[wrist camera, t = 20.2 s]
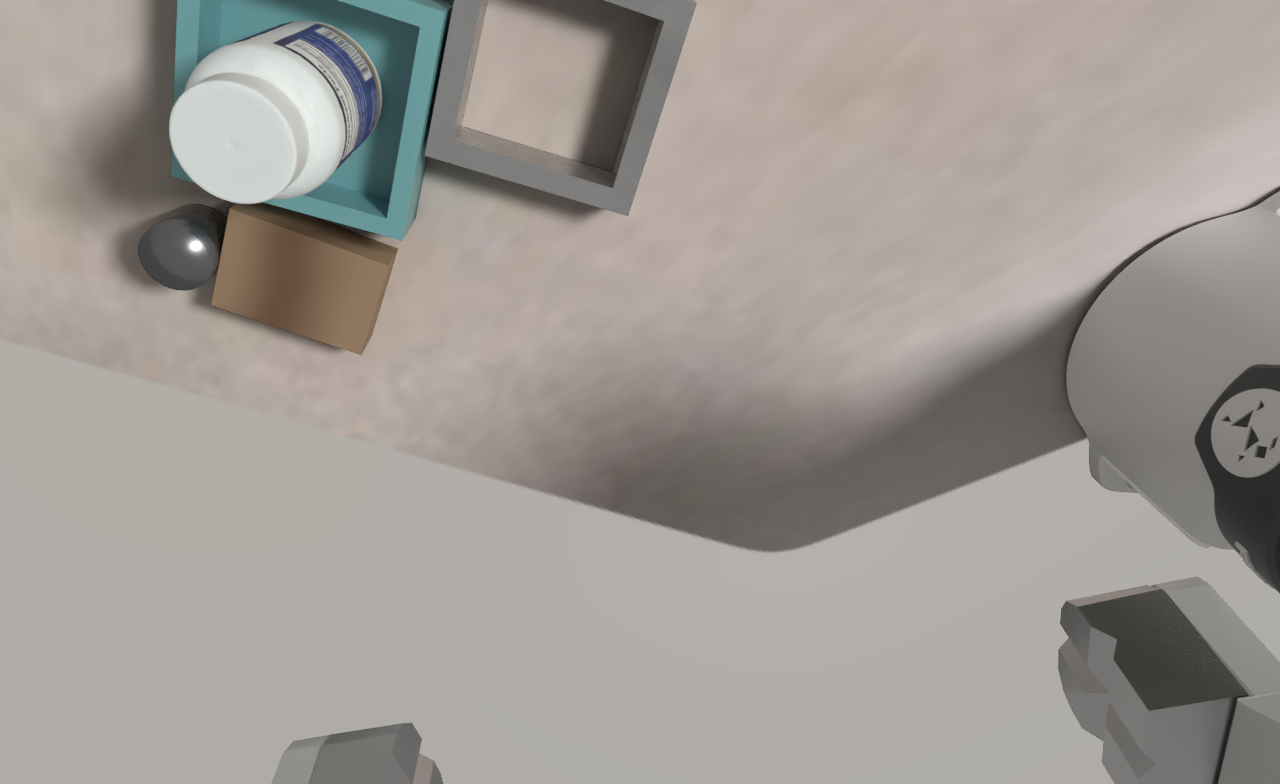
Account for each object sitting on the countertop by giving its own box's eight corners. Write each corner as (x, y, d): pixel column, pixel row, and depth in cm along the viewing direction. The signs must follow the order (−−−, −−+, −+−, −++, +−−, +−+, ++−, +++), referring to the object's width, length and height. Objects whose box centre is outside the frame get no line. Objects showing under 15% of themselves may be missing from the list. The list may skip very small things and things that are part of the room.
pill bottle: (267, 149, 36) (167, 224, 28) (242, 15, 34) (123, 54, 25) (392, 153, 37) (330, 227, 28) (377, 20, 34) (304, 59, 25)
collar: (690, -4, 35) (696, 3, 32) (626, 198, 39) (628, 216, 37) (477, -79, 33) (468, -78, 31) (434, 141, 37) (424, 155, 35)
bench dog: (238, 214, 39) (212, 236, 36) (233, 272, 40) (208, 297, 37) (170, 195, 38) (138, 217, 35) (167, 255, 39) (137, 279, 37)
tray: (456, 3, 34) (444, 12, 32) (415, 218, 39) (402, 240, 36) (213, -77, 33) (180, -76, 30) (200, 157, 37) (170, 176, 35)
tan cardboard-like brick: (399, 245, 40) (388, 265, 38) (373, 331, 42) (361, 355, 40) (250, 190, 38) (229, 208, 36) (231, 283, 41) (211, 304, 38)
